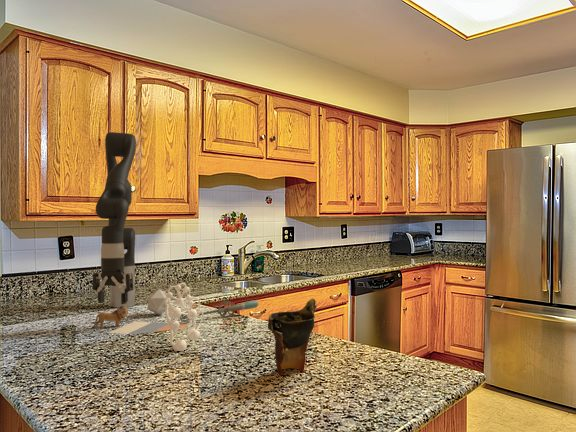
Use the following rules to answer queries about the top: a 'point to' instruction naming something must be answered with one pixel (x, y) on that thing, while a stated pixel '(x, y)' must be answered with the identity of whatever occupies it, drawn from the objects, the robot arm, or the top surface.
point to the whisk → (228, 308)
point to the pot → (292, 336)
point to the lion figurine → (112, 316)
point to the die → (157, 302)
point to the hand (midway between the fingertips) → (112, 303)
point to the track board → (142, 327)
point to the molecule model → (176, 313)
